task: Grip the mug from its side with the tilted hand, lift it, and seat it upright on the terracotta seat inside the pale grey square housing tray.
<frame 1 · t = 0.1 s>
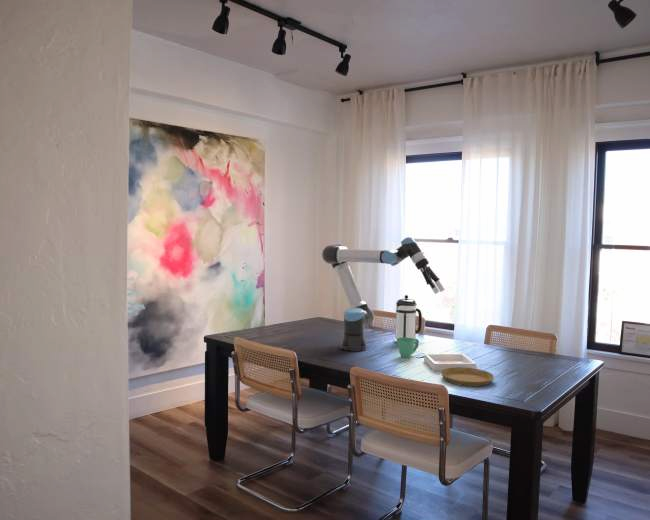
hand: (440, 291, 302), 36 cm above the table, tool tilted 35°, fingers open, 13 cm apart
mug: (408, 356, 295), on the table
housing tray: (449, 366, 275), on the table
plant saucer: (467, 381, 249), on the table
coffee press: (406, 342, 334), on the table
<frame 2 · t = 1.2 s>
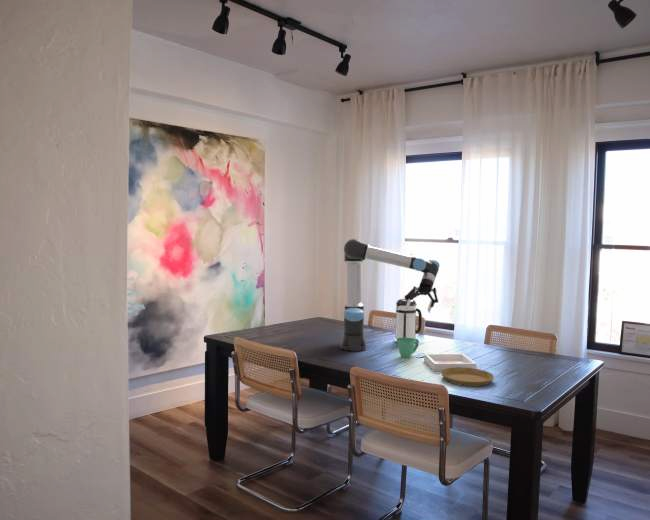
hand: (417, 310, 302), 25 cm above the table, tool tilted 45°, fingers open, 13 cm apart
nothing on the table moved.
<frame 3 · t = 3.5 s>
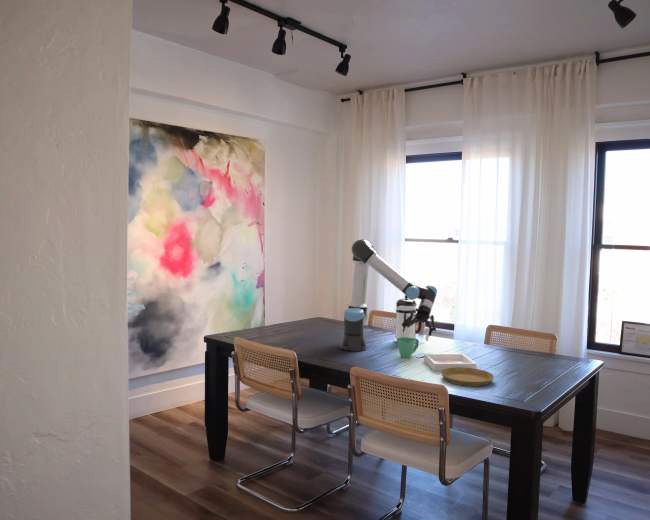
hand: (414, 338, 298), 9 cm above the table, tool tilted 45°, fingers open, 13 cm apart
nothing on the table moved.
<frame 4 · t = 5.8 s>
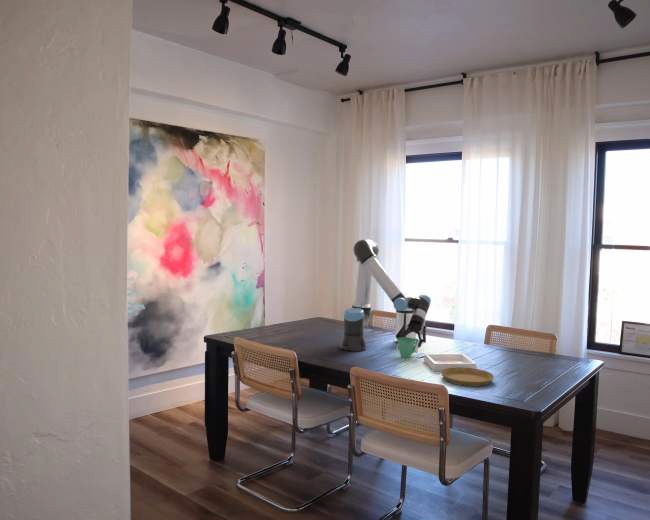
hand: (406, 350, 292), 4 cm above the table, tool tilted 45°, fingers open, 10 cm apart
mug: (408, 356, 295), on the table, touching gripper
everything else where it was.
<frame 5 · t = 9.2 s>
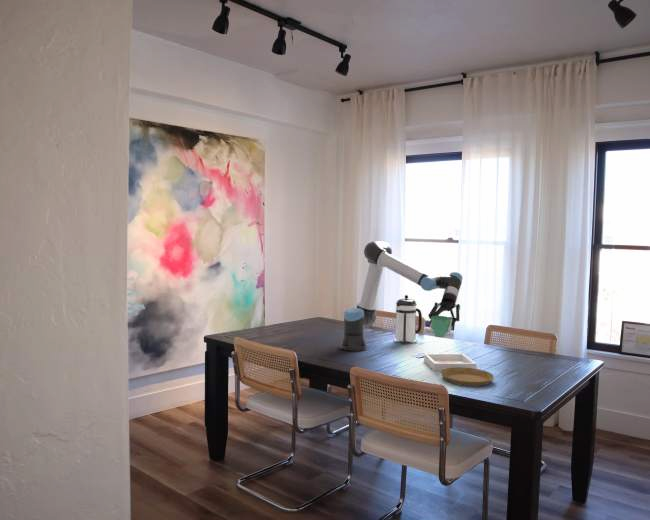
hand: (440, 329, 276), 19 cm above the table, tool tilted 45°, fingers closed on mug, 9 cm apart
mug: (442, 336, 279), point 15 cm above the table, touching gripper
everything else where it was.
when the fingers open (6 cm above the table, at t = 12.6 s): mug drops 1 cm, resting on housing tray.
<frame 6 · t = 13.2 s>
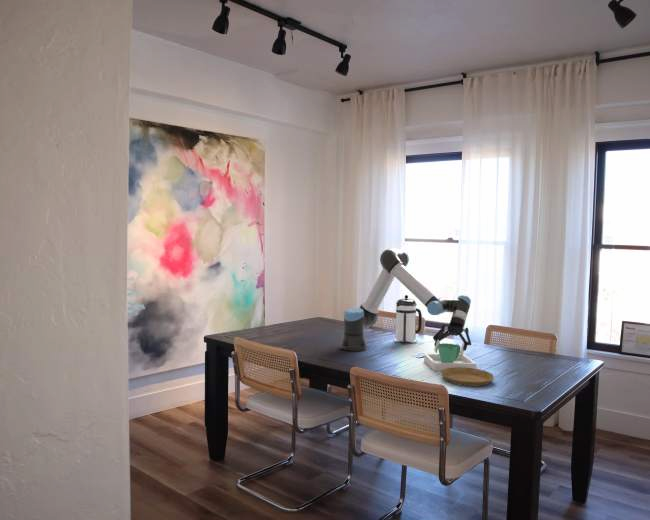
hand: (448, 353, 272), 7 cm above the table, tool tilted 45°, fingers open, 13 cm apart
mug: (450, 364, 275), point 1 cm above the table, touching housing tray
everything else where it was.
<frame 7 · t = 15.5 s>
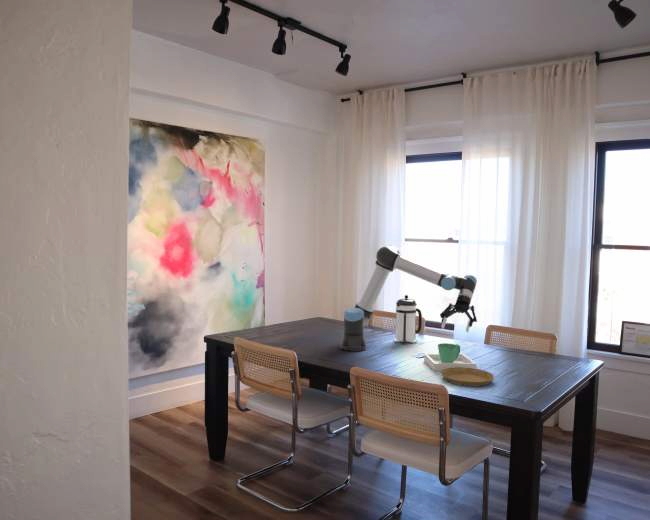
hand: (454, 329, 285), 17 cm above the table, tool tilted 45°, fingers open, 13 cm apart
nothing on the table moved.
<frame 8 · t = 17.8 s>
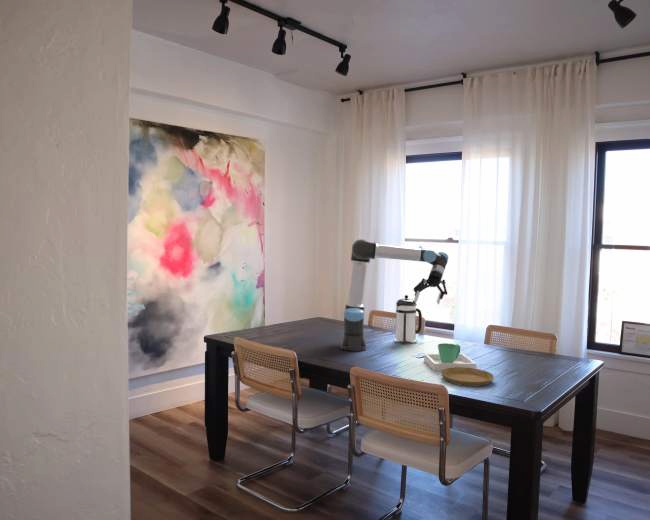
hand: (426, 301, 303), 30 cm above the table, tool tilted 45°, fingers open, 13 cm apart
nothing on the table moved.
at the end: mug inside the target area on the housing tray (0.4 cm from its centre), point 1.0 cm above the housing tray's base; mug tilted 0°; the gripper is holding nothing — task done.
